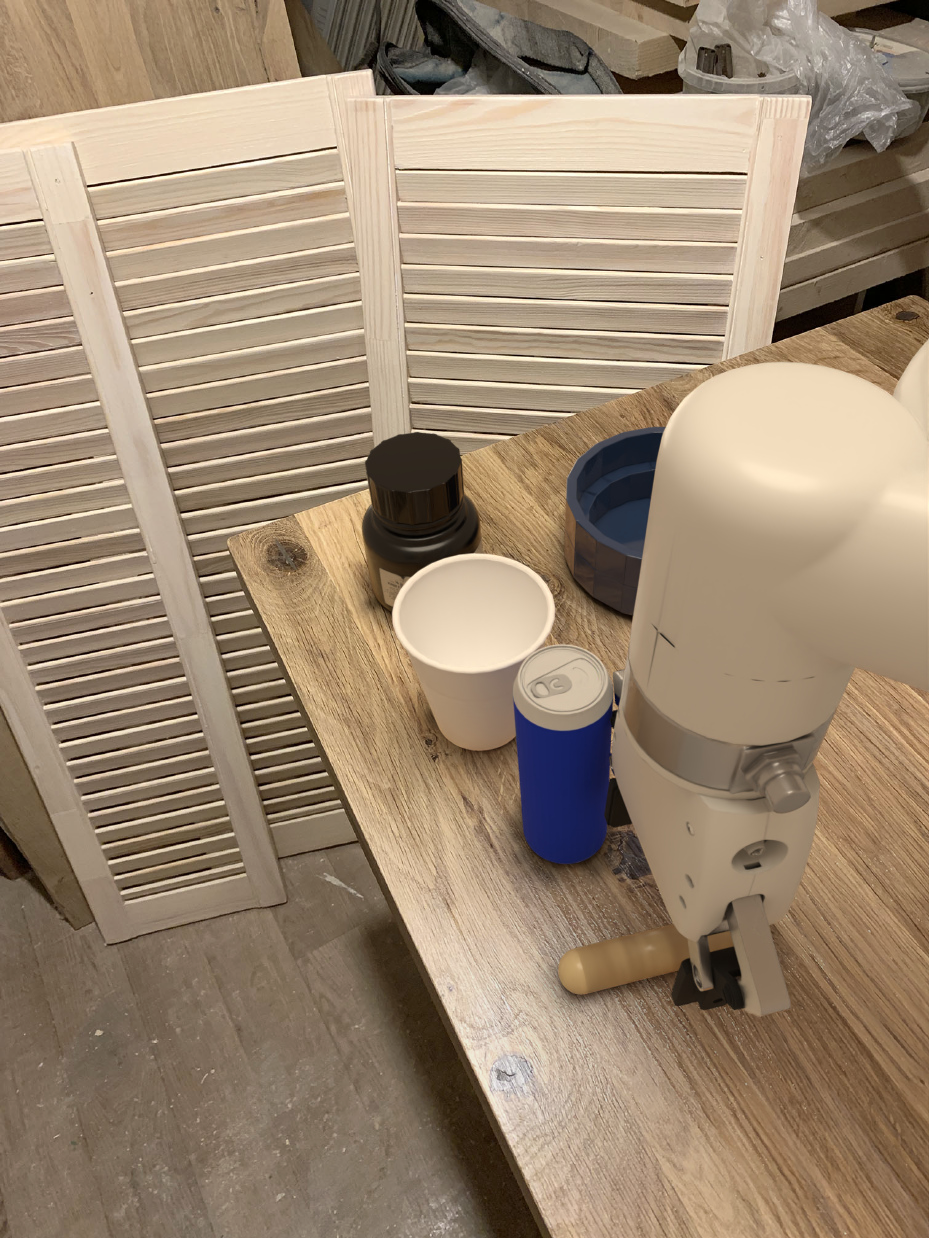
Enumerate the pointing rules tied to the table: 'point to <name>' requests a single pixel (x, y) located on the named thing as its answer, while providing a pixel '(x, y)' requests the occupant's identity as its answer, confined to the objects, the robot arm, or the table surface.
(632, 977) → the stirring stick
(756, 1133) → the table surface
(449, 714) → the cup
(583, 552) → the bowl
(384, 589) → the ink bottle
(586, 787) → the beverage can
